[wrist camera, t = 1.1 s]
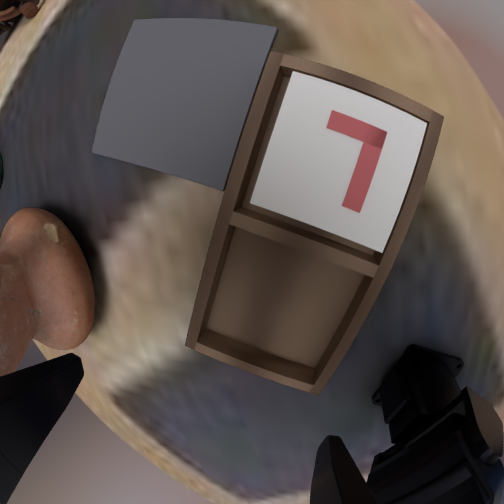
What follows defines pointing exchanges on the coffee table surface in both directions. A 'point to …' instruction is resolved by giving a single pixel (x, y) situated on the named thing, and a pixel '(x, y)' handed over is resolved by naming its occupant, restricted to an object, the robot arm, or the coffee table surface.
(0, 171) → the decorative ornament
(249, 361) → the tray
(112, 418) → the coffee table surface
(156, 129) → the pad
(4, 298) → the ceramic jug
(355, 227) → the letter cube
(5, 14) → the brown irregular piece
